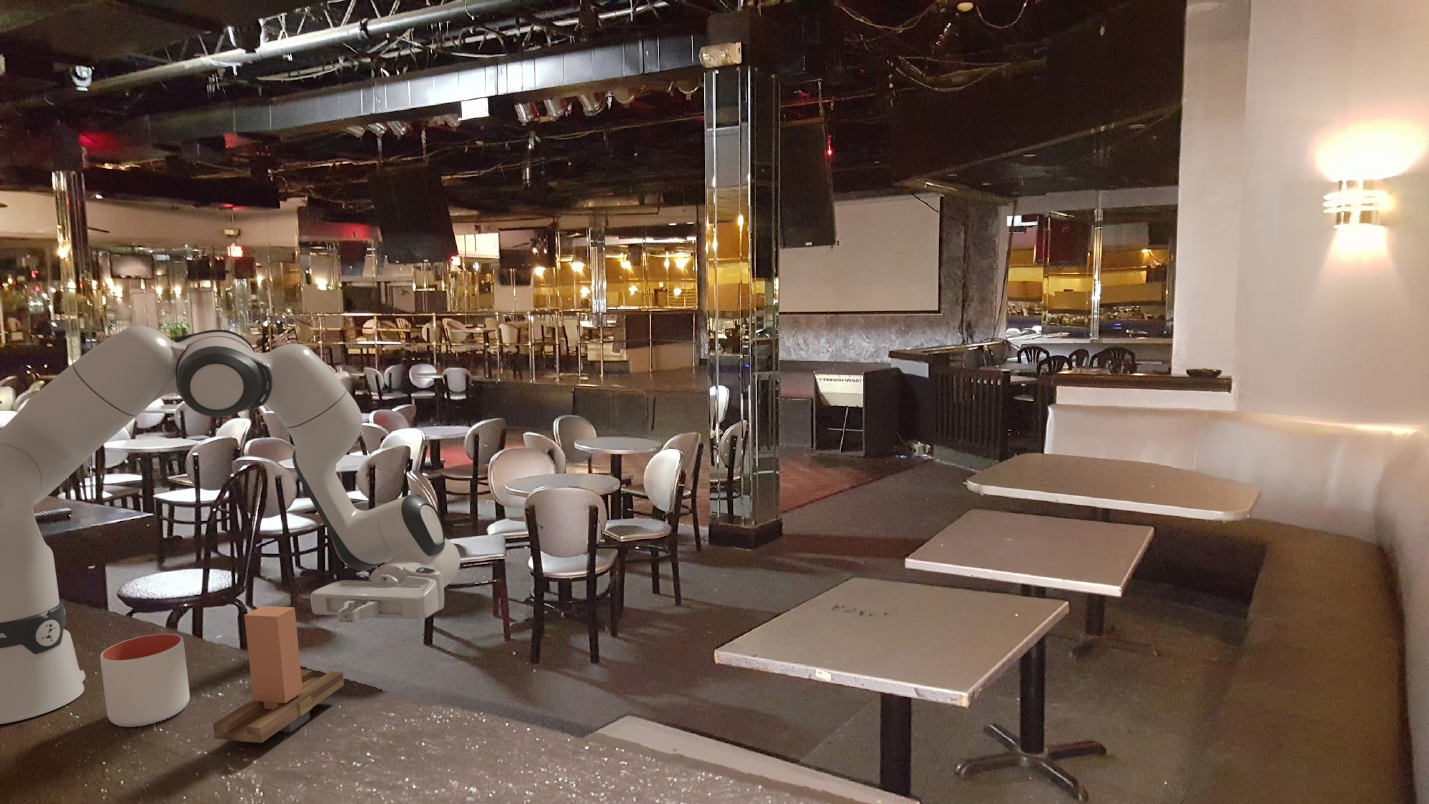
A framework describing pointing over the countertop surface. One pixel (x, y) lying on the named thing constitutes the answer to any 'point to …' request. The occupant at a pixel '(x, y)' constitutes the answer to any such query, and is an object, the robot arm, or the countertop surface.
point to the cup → (145, 679)
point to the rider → (273, 655)
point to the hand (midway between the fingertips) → (345, 617)
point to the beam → (277, 711)
